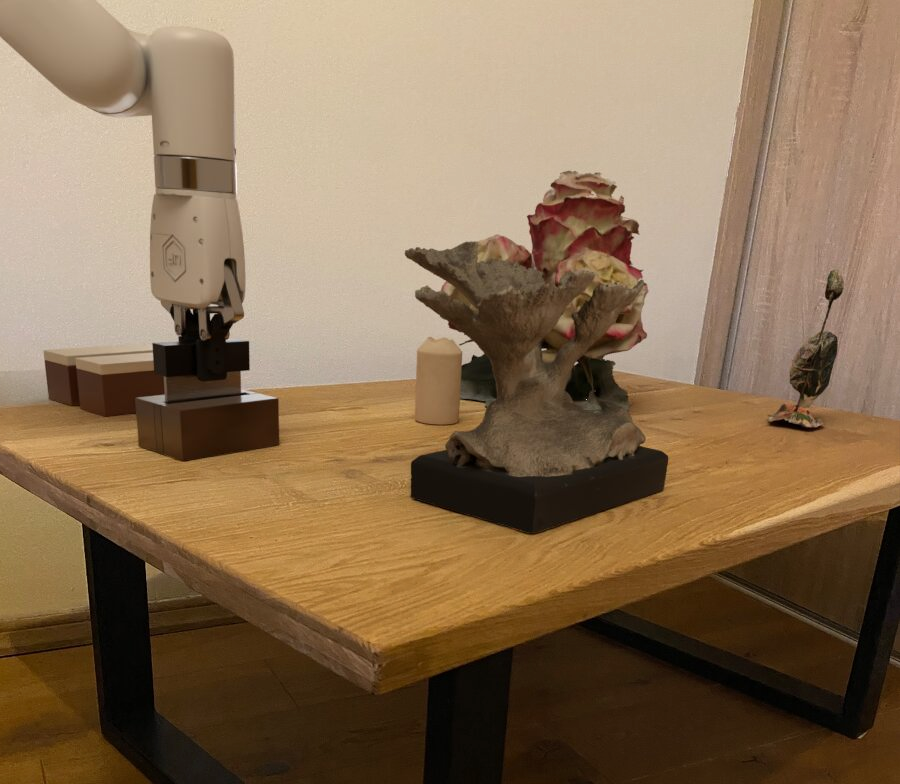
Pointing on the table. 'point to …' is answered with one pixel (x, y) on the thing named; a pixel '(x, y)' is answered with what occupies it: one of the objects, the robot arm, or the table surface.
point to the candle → (438, 382)
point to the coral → (531, 401)
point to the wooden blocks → (102, 377)
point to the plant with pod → (813, 366)
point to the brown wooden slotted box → (207, 425)
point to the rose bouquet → (558, 250)
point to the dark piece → (182, 371)
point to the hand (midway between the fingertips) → (203, 376)
